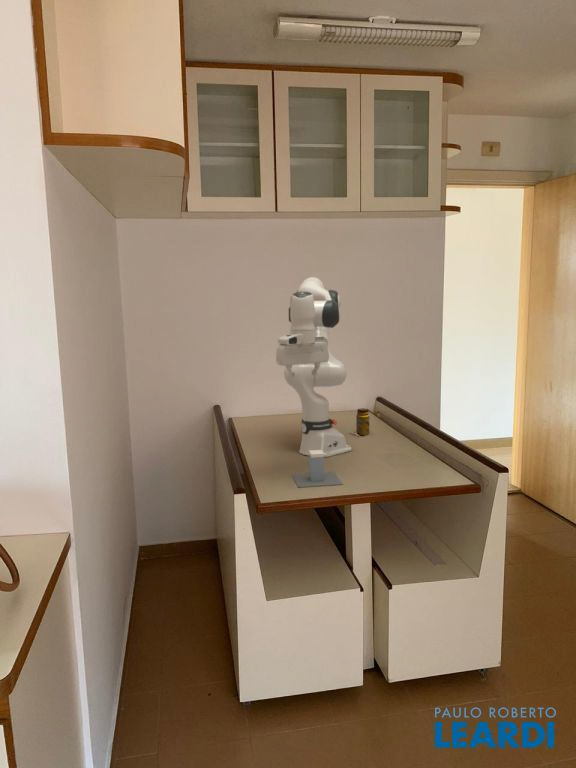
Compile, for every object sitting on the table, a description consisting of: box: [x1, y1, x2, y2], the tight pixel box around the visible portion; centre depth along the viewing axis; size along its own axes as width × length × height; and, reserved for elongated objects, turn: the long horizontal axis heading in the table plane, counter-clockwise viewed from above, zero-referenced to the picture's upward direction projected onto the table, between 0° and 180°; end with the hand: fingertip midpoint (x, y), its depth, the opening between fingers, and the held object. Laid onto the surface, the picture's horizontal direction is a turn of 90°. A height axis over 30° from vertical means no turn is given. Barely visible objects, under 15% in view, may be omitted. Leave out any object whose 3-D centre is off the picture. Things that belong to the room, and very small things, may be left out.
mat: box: [291, 471, 344, 489], centre depth 212 cm, size 16×14×1 cm
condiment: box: [355, 408, 370, 436], centre depth 276 cm, size 7×8×12 cm
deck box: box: [308, 450, 325, 482], centre depth 211 cm, size 5×5×10 cm
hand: (303, 376), depth 211 cm, fingers open, 8 cm apart
